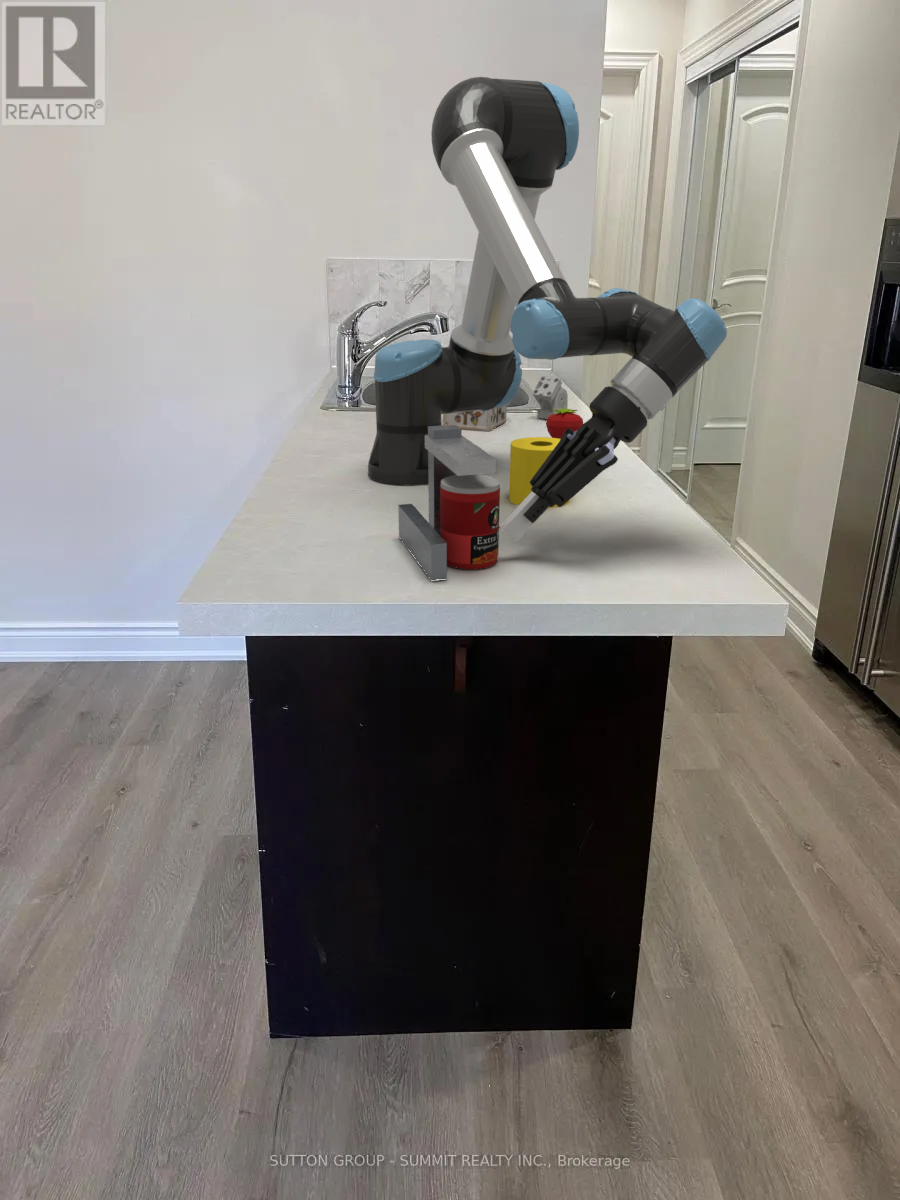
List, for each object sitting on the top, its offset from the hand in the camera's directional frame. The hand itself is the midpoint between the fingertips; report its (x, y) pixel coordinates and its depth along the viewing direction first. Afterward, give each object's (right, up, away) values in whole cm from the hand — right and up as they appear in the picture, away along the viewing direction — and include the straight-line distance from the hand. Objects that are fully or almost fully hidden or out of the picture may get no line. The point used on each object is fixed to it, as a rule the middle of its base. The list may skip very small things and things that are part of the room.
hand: (507, 534), depth 122 cm
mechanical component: (+16, +34, +93) cm, 101 cm away
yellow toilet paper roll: (+7, +8, +29) cm, 31 cm away
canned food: (-5, -4, +1) cm, 6 cm away
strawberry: (+15, +22, +63) cm, 69 cm away
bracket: (-8, -2, +3) cm, 9 cm away
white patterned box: (-2, +31, +87) cm, 92 cm away
